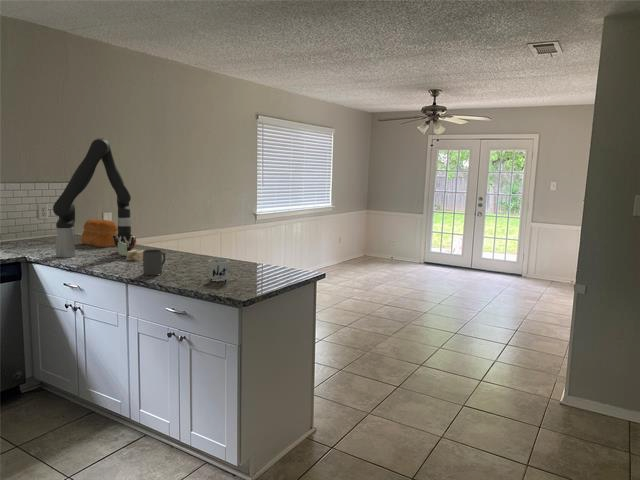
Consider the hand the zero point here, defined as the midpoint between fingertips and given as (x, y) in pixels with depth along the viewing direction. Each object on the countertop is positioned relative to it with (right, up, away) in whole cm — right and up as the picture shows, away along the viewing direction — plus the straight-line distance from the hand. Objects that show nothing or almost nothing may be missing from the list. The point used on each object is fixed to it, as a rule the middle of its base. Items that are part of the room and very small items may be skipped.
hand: (124, 252), depth 297 cm
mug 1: (+33, -10, -43) cm, 55 cm away
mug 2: (+67, -12, -51) cm, 85 cm away
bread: (-31, +4, +37) cm, 49 cm away
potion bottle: (-4, 0, +15) cm, 15 cm away
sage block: (0, -1, 0) cm, 1 cm away
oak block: (+10, -4, -8) cm, 13 cm away
